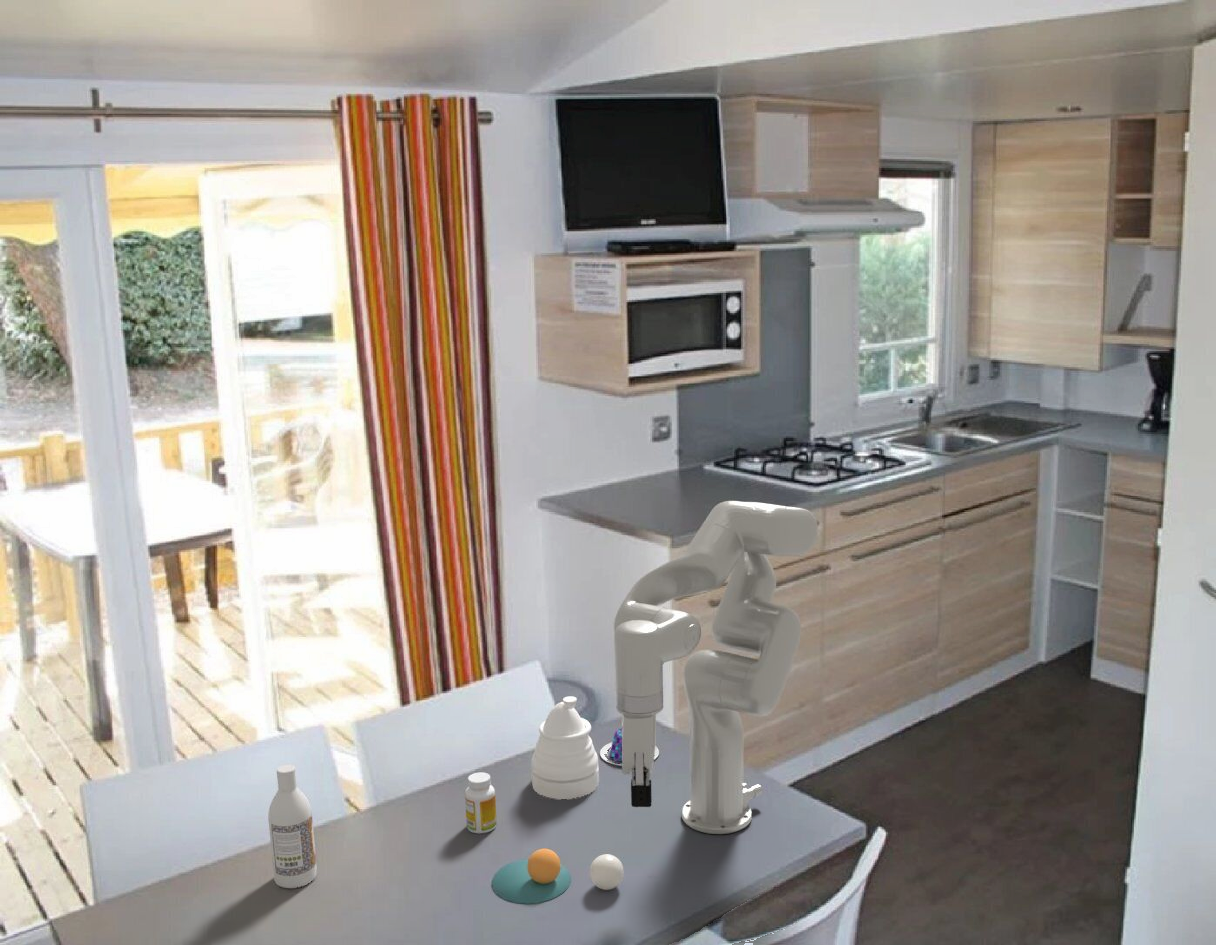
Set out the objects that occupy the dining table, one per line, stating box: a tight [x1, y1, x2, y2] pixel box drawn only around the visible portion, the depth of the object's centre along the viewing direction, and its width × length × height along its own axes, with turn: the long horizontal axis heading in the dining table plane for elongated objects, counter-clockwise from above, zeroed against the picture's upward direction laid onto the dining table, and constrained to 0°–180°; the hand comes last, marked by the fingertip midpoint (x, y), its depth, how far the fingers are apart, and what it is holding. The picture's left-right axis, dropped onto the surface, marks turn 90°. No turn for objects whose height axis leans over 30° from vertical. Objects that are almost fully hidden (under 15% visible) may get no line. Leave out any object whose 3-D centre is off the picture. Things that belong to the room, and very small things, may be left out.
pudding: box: [599, 727, 660, 767], centre depth 239 cm, size 12×12×5 cm
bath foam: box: [268, 764, 318, 889], centre depth 196 cm, size 7×7×20 cm
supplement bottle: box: [464, 771, 498, 834], centre depth 212 cm, size 5×5×10 cm
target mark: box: [491, 858, 572, 905], centre depth 196 cm, size 13×13×1 cm
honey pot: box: [531, 695, 600, 800], centre depth 227 cm, size 13×13×18 cm
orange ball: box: [527, 848, 562, 884], centre depth 195 cm, size 6×6×6 cm
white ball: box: [589, 853, 624, 891], centre depth 193 cm, size 6×6×6 cm
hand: (641, 804), depth 191 cm, fingers closed
